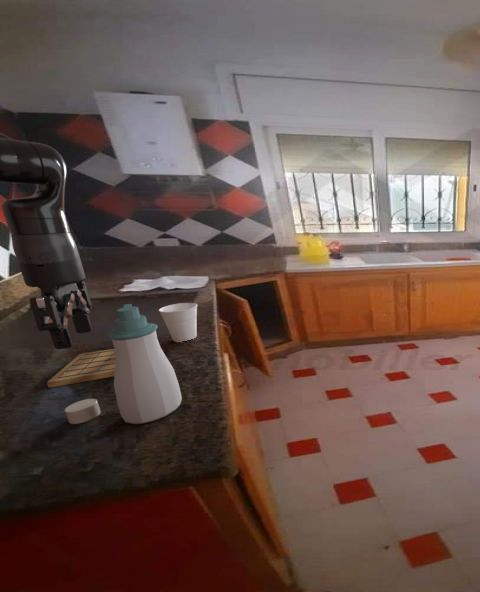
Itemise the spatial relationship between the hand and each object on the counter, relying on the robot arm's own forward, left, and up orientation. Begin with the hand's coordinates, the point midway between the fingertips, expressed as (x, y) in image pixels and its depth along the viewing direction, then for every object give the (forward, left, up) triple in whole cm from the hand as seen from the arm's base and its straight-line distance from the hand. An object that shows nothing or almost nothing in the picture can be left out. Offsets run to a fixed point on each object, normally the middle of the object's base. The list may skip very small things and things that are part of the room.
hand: (75, 339), depth 62 cm
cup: (+10, +37, -16) cm, 42 cm away
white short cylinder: (-1, -2, -16) cm, 16 cm away
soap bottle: (+11, -6, -16) cm, 20 cm away
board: (-5, +25, -16) cm, 31 cm away
